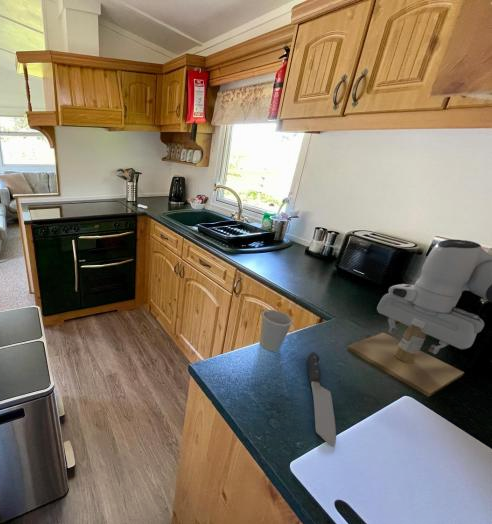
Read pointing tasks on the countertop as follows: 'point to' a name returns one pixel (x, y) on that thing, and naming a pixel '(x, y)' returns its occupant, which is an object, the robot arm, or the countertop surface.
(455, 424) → the countertop surface
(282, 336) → the dixie cup
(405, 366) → the maple board
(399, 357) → the sprinkles bottle
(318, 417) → the kitchen knife
